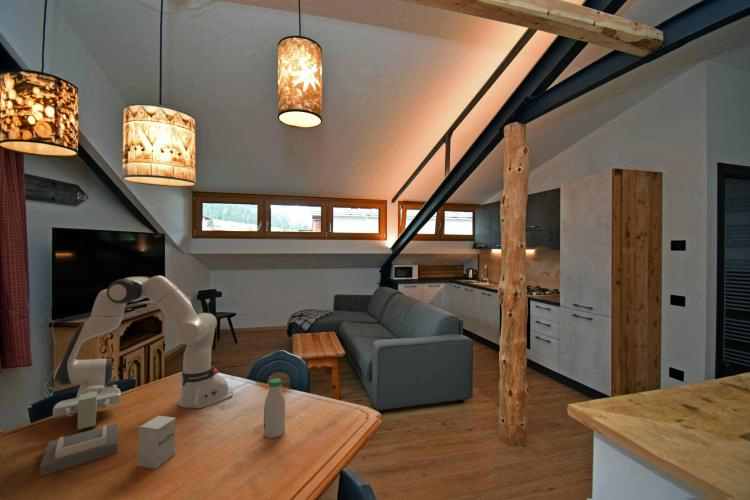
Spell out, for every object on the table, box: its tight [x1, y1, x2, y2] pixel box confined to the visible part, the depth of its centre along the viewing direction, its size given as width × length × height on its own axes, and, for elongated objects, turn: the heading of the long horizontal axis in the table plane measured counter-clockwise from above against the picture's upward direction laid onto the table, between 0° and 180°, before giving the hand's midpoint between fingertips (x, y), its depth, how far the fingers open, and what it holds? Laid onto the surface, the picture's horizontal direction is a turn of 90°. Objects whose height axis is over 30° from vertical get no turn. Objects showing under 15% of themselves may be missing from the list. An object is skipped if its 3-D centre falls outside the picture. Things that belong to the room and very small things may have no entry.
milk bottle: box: [263, 377, 286, 439], centre depth 117 cm, size 8×8×20 cm
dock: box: [39, 423, 118, 477], centre depth 105 cm, size 18×16×6 cm
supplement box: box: [137, 415, 177, 470], centre depth 101 cm, size 7×7×13 cm
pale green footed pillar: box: [77, 391, 98, 432], centre depth 119 cm, size 5×6×12 cm
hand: (87, 410), depth 119 cm, fingers open, 8 cm apart
